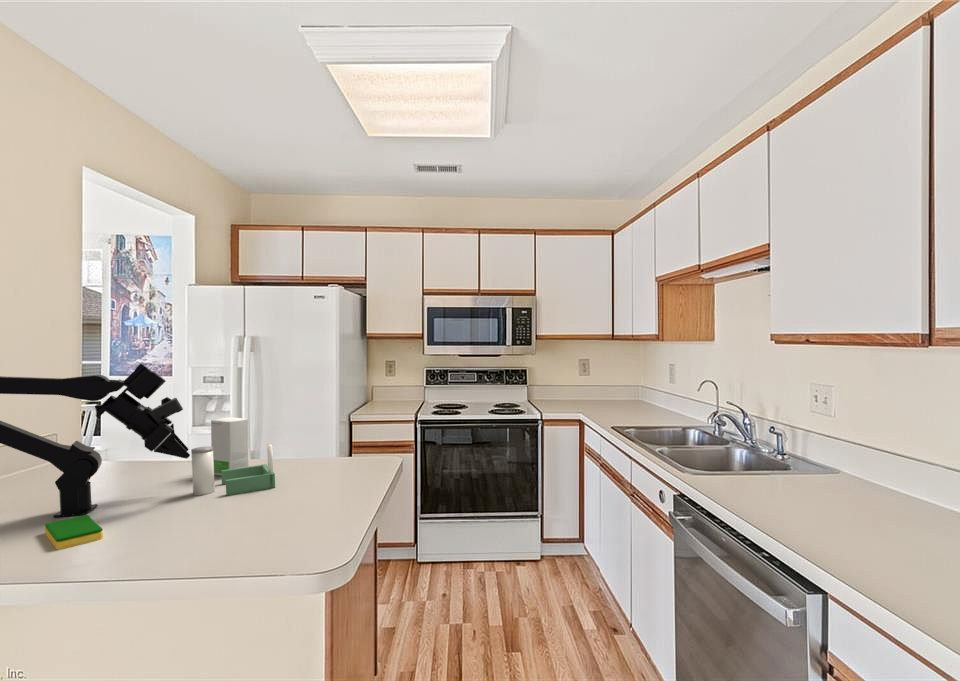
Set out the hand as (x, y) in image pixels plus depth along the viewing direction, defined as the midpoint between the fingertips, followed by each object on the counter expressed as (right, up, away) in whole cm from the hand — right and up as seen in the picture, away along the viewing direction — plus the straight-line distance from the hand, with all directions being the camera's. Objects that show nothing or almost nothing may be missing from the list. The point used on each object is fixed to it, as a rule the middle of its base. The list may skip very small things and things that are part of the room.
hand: (187, 453), depth 135 cm
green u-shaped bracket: (+12, -10, +7) cm, 17 cm away
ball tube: (+3, -10, +2) cm, 11 cm away
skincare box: (+1, -10, +21) cm, 24 cm away
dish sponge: (-8, -11, -27) cm, 30 cm away
